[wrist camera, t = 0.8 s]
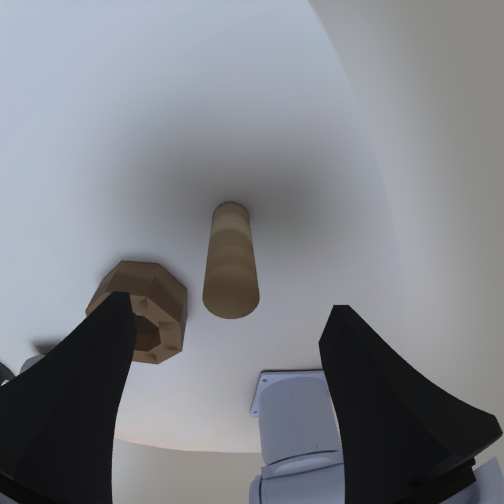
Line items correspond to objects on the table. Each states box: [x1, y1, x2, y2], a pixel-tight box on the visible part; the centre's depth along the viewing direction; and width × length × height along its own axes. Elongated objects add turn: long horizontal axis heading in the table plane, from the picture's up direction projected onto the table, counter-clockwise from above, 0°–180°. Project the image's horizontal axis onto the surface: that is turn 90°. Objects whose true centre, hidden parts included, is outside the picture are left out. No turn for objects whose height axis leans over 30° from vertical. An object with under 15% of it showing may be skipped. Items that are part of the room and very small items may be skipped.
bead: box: [85, 261, 187, 364], centre depth 19 cm, size 7×7×4 cm
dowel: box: [203, 202, 260, 319], centre depth 14 cm, size 2×2×8 cm
